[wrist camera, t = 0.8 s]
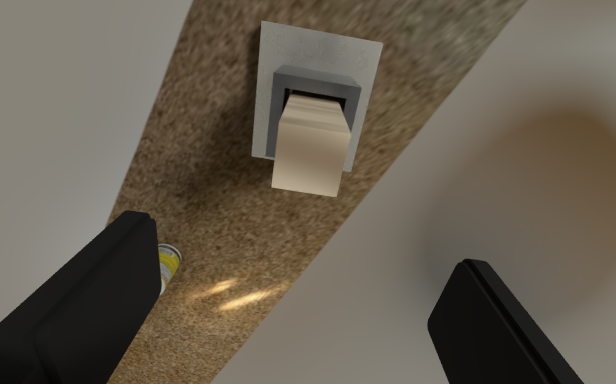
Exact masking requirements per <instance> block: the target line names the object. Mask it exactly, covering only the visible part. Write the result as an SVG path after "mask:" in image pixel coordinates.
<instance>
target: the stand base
mask: <svg viewBox="0 0 616 384" xmlns="http://www.w3.org/2000/svg"><path fill="white" fill-rule="evenodd" d="M382 47H383V43H380V42H374V41H369V40H364V39H358V38H353V37H347V36H342V35H337V34H331V33H326V32H321V31H315V30H310V29H304V28H299V27H294V26H288V25H283V24H278V23H272V22H267V21H262V23H261V37H260V50H259V63H258V77H257V90H256V103H255V117H254V130H253V143H252V157H259V158H265V159H271V160H275V152H276V144H277V135H278V126H279V121H280V119H281V116H282V114H283V111H284V109H285V107H286V104H287V102H288V100H289V97H290V95H291V92H292V89H294V90H300V91H306V92H311V93H317V94H323V95H329V96H335V97H337V100H338V102H339V105H340V107H341V110H342V112H343V115H344V117H345V120H346V122H347V125H348V127H349V130H350V132H351V138H350V142H349V146H348V150H347V154H346V159H345V163H344V167H343V171H348V172H351V169H352V165H353V161H354V157H355V153H356V149H357V145H358V142H359V138H360V134H361V130H362V126H363V122H364V118H365V114H366V110H367V106H368V102H369V98H370V94H371V90H372V86H373V82H374V78H375V74H376V70H377V66H378V62H379V59H380V55H381V51H382Z"/></svg>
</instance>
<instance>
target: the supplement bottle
mask: <svg viewBox="0 0 616 384" xmlns="http://www.w3.org/2000/svg"><path fill="white" fill-rule="evenodd" d="M158 249H159V260H160V270H161V281H162V289H161V293H160V295H161V294H162V293H163V292H164V290H165V289H166V287H167V285H168V283H169V282H170V280H171V278H172V277H173V275H174V273H175V271H176V270H177V268H178V266H179V264H180V263H181V254H180V252H179V251H178V250H177V249H176V248H175V247H173V246H171V245H168V244H158Z"/></svg>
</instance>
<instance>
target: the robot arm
mask: <svg viewBox="0 0 616 384" xmlns="http://www.w3.org/2000/svg"><path fill="white" fill-rule="evenodd" d="M161 289H162V281H161V270H160V260H159V249H158V239H157V229H156V221H155V220H154V219H151V218H150V215H149V214H148V213H143V212H136V211H129V210H128V211H125V212H123V213H122V214H121V215H120V216H119V217H118V218H116V219H115V220H114V221H113V222H112V223H111V224H110V225H109V226H107V227H106V228H105V229H104V230H103V231H102V232H101V233H100V234H99V235H97V236H96V237H95V238H94V239H93V240H92V241H91V242H90V243H88V244H87V245H86V246H85V247H84V248H83V249H82V250H81V251H79V252H78V253H77V254H76V255H75V256H74V257H73V258H72V259H71V260H69V261H68V262H67V263H66V264H65V265H64V266H63V267H62V268H60V269H59V270H58V271H57V272H56V273H55V274H54V275H53V276H52V277H51V278H49V279H48V280H47V281H46V282H45V283H44V284H43V285H42V286H40V287H39V288H38V289H37V290H36V291H35V292H34V293H33V294H31V295H30V296H29V297H28V298H27V299H26V300H25V301H24V302H22V303H21V304H20V305H19V306H18V307H17V308H16V309H15V310H14V311H12V312H11V313H10V314H9V315H8V316H7V317H6V318H5V319H3V320H2V321H1V322H0V384H106V383H107V382H108V380H109V378H110V377H111V375H112V373H113V372H114V370H115V368H116V367H117V365H118V364H119V362H120V360H121V359H122V357H123V355H124V354H125V352H126V350H127V349H128V347H129V345H130V344H131V342H132V340H133V339H134V337H135V336H136V334H137V332H138V331H139V329H140V327H141V326H142V324H143V322H144V321H145V319H146V317H147V316H148V314H149V312H150V311H151V309H152V307H153V306H154V304H155V303H156V301H157V299H158V297H159V296H160V293H161ZM428 331H429V334H430V336H431V339H432V341H433V344H434V346H435V349H436V351H437V354H438V356H439V359H440V361H441V364H442V366H443V369H444V371H445V374H446V376H447V379H448V381H449V384H584V383H583V382H582V380H581V379H580V378H579V377H578V375H577V374H576V373H575V372H574V370H573V369H572V368H571V367H570V366H569V364H568V363H567V362H566V360H565V359H564V358H563V357H562V355H561V354H560V353H559V351H558V350H557V349H556V348H555V347H554V345H553V344H552V343H551V341H550V340H549V339H548V338H547V336H546V335H545V334H544V333H543V331H542V330H541V329H540V328H539V326H538V325H537V324H536V323H535V321H534V320H533V319H532V318H531V316H530V315H529V314H528V312H527V311H526V310H525V309H524V307H523V306H522V305H521V304H520V302H519V301H518V300H517V299H516V297H514V295H513V294H512V292H511V291H510V290H509V289H508V287H507V286H506V285H505V284H504V282H503V281H502V280H501V279H500V277H499V276H498V275H497V273H496V272H495V271H494V270H493V268H492V267H491V266H490V265H489V264H488V263H487V262H485V261H480V260H474V259H464V260H463V261H462V262H460V263H458V264H457V265H456V267H455V269H454V271H453V273H452V275H451V276H450V278H449V280H448V282H447V284H446V286H445V288H444V290H443V292H442V294H441V296H440V298H439V300H438V302H437V303H436V305H435V307H434V309H433V311H432V313H431V315H430V317H429V319H428Z"/></svg>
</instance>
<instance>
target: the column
mask: <svg viewBox="0 0 616 384" xmlns="http://www.w3.org/2000/svg"><path fill="white" fill-rule="evenodd" d="M350 138H351V132H350V130H349V127H348V125H347V122H346V120H345V117H344V115H343V112H342V110H341V107H340V105H339V102H338V100H337V97H335V96H329V95H323V94H317V93H311V92H306V91H300V90H294V89H292V92H291V95H290V97H289V100H288V102H287V104H286V107H285V109H284V111H283V114H282V116H281V119H280V121H279V126H278V135H277V144H276V152H275V161H274V170H273V178H272V187H273V188H280V189H286V190H293V191H299V192H306V193H313V194H319V195H326V196H332V197H336V196H337V192H338V188H339V184H340V180H341V175H342V171H343V167H344V163H345V159H346V154H347V150H348V146H349V142H350Z"/></svg>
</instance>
